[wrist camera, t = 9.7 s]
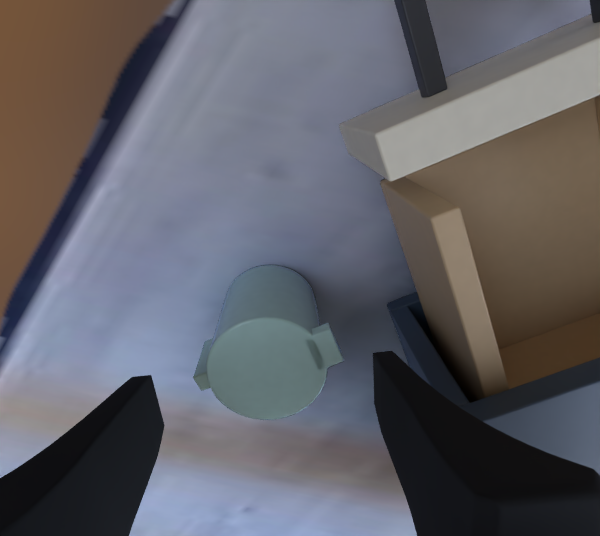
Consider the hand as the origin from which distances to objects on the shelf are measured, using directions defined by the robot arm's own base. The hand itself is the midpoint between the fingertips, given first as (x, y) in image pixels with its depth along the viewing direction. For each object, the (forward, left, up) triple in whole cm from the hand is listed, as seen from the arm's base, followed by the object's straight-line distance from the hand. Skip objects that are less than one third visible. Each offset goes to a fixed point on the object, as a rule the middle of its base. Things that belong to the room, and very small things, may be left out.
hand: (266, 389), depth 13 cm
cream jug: (0, 0, -6) cm, 6 cm away
